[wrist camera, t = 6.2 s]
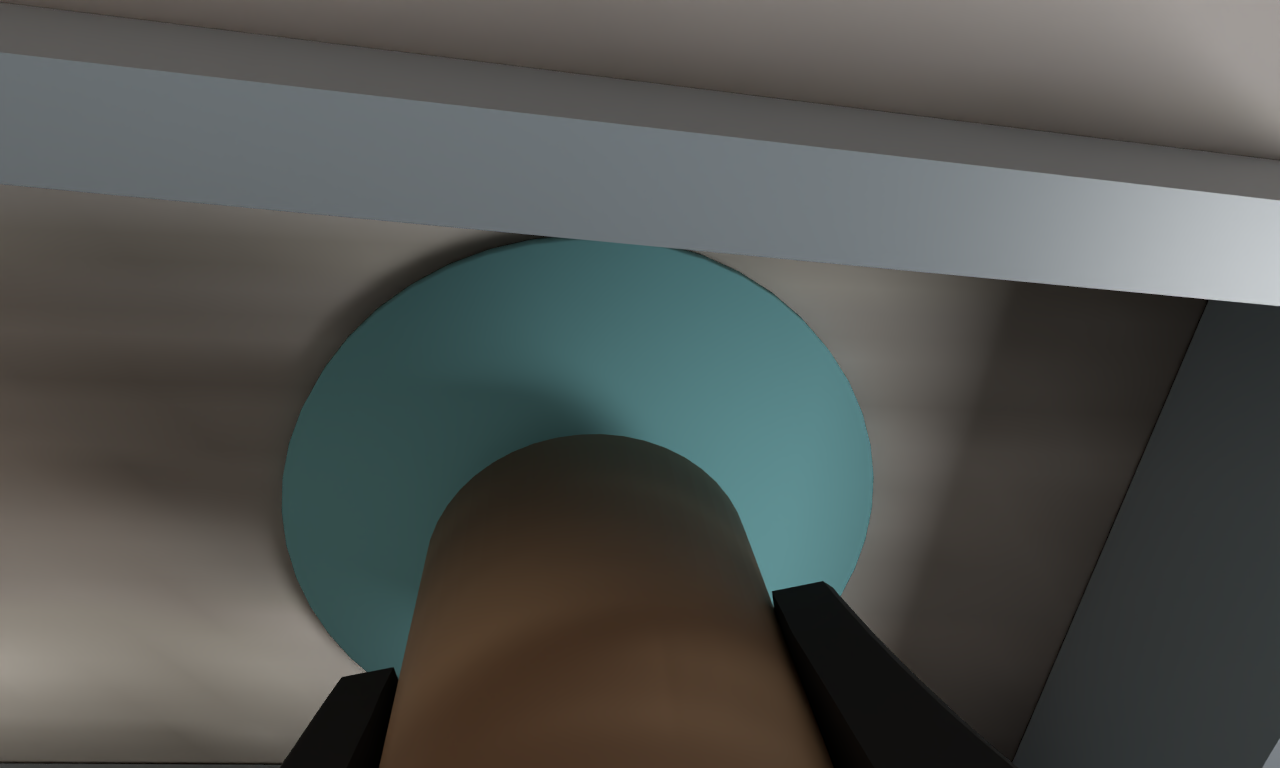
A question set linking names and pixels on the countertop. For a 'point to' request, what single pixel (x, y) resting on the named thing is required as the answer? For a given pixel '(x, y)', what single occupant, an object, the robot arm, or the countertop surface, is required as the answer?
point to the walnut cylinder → (596, 624)
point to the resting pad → (565, 416)
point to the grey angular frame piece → (777, 228)
